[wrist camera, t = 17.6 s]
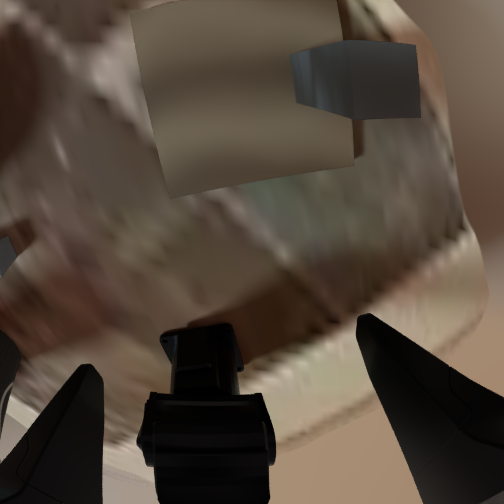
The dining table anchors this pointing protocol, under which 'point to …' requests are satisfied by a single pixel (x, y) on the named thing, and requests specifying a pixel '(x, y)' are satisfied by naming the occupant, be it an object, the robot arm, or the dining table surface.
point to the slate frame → (6, 255)
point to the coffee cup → (7, 372)
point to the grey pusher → (262, 88)
